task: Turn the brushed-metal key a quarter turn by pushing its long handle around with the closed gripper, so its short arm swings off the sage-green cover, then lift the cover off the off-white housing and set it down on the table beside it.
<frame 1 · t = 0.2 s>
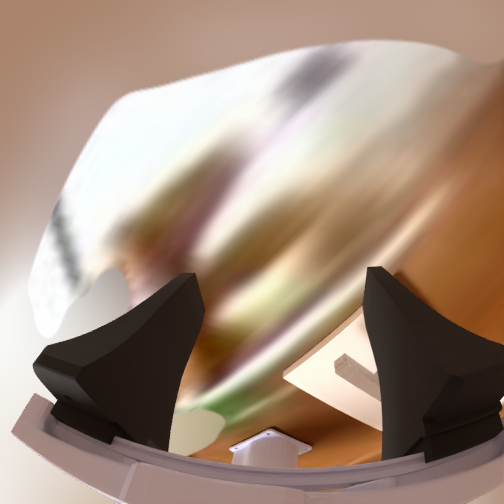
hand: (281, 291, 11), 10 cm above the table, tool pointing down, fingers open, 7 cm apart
housing: (393, 374, 25), on the table
t key: (379, 381, 21), point 3 cm above the table, hinge at 0.0°
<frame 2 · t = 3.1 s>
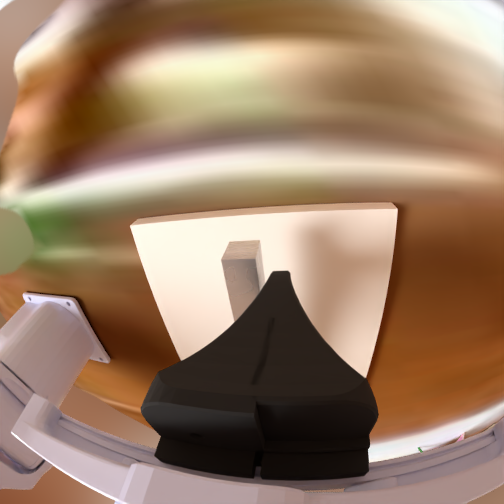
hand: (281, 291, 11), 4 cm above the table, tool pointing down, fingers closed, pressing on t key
housing: (272, 345, 19), on the table
t key: (262, 339, 14), point 3 cm above the table, hinge at 0.1°, touching gripper
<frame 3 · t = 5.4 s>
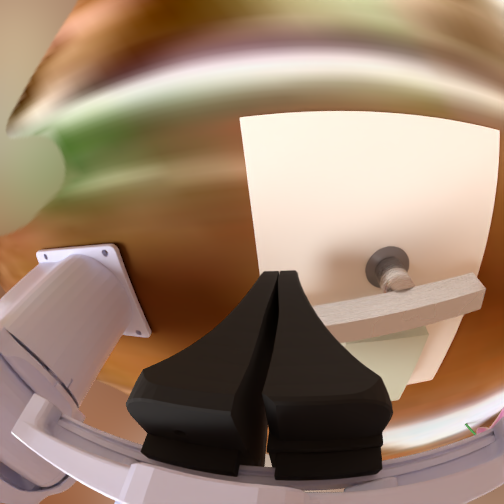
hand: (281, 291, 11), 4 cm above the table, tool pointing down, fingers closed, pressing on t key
housing: (378, 287, 15), on the table
lily: (479, 419, 25), on the table
cover: (371, 348, 17), point 1 cm above the table, touching housing
t key: (360, 299, 12), point 3 cm above the table, hinge at 98.4°, touching gripper
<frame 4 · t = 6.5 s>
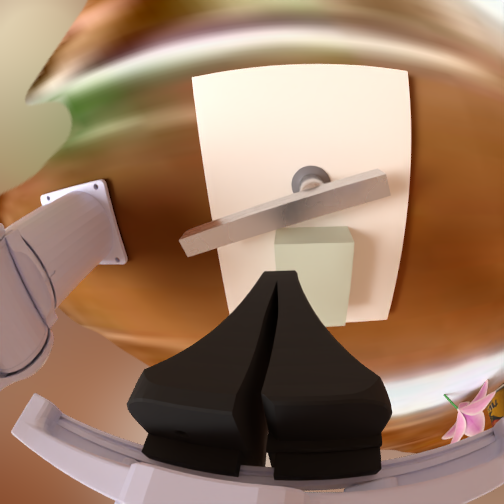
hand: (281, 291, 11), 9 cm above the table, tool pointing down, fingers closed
housing: (311, 208, 19), on the table
lily: (459, 392, 29), on the table
cover: (312, 270, 20), point 1 cm above the table, touching housing
condiment: (500, 391, 29), on the table
t key: (281, 204, 16), point 3 cm above the table, hinge at 106.2°
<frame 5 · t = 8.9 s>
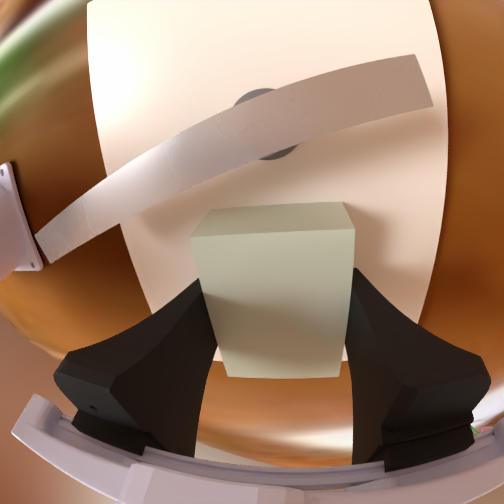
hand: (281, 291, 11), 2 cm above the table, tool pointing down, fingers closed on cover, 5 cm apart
housing: (274, 172, 11), on the table
cover: (281, 282, 12), point 1 cm above the table, touching gripper, housing
t key: (194, 155, 7), point 3 cm above the table, hinge at 106.4°
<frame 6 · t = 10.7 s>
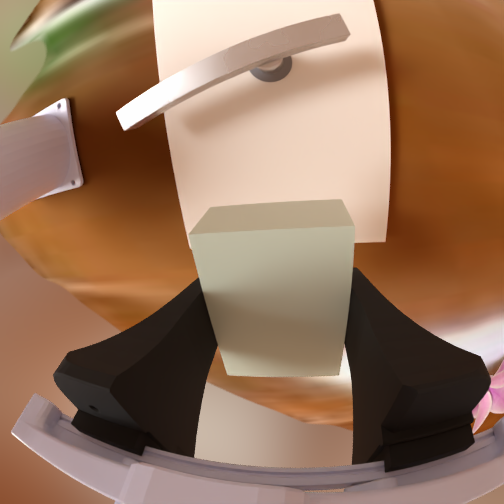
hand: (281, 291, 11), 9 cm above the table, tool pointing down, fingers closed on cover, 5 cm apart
housing: (274, 94, 15), on the table
lily: (480, 364, 24), on the table
cover: (281, 280, 12), point 8 cm above the table, touching gripper
t key: (230, 69, 12), point 3 cm above the table, hinge at 106.4°
when the fingers open (2 cm above the table, at t = 13.0 s): cover drops 2 cm, on the table.
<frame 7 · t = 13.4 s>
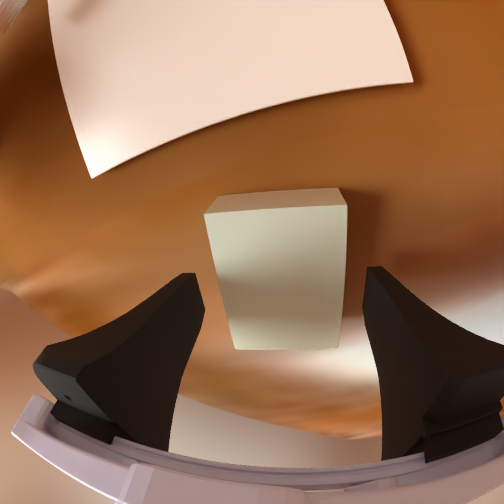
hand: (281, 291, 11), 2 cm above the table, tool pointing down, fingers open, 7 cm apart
cover: (284, 260, 13), on the table
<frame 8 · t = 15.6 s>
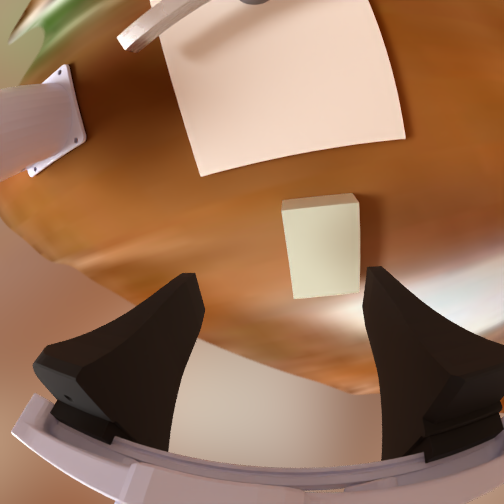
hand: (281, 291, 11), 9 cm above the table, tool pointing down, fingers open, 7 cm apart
housing: (264, 16, 13), on the table
cover: (321, 239, 20), on the table
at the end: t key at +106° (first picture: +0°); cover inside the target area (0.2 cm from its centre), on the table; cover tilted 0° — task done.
